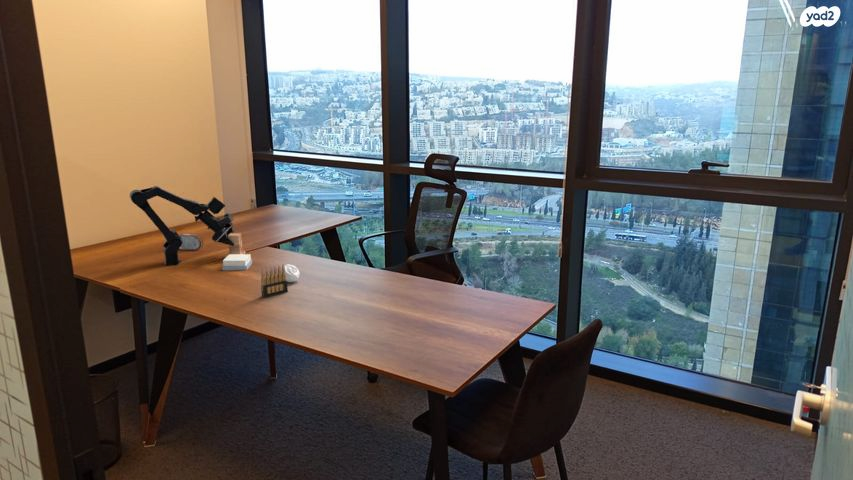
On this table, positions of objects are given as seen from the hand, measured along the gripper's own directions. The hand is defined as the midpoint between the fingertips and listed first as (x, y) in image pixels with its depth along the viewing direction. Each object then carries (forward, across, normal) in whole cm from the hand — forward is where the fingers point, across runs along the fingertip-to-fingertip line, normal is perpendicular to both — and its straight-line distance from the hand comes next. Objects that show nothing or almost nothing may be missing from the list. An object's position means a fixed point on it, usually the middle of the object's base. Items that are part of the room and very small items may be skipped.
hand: (236, 242), depth 284 cm
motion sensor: (+28, -38, -17) cm, 50 cm away
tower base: (+8, -15, +3) cm, 17 cm away
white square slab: (+6, -15, +2) cm, 16 cm away
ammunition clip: (+25, -53, -14) cm, 60 cm away
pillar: (+5, 0, +6) cm, 8 cm away
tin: (-15, +16, +26) cm, 34 cm away
